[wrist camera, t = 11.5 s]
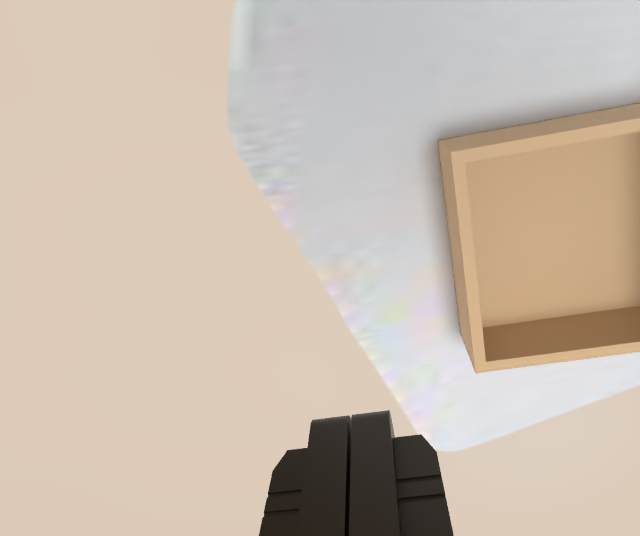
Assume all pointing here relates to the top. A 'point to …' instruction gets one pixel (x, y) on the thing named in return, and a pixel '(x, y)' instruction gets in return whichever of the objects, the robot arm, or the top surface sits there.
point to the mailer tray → (546, 238)
